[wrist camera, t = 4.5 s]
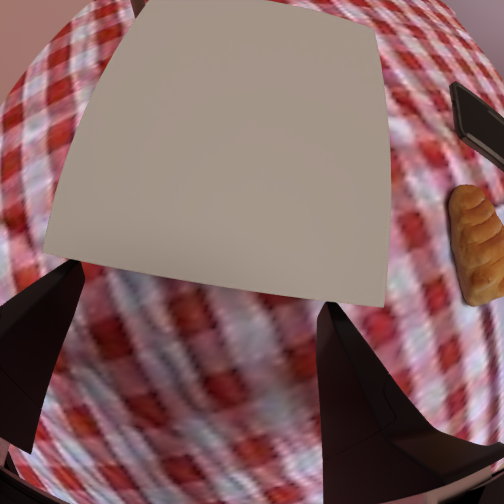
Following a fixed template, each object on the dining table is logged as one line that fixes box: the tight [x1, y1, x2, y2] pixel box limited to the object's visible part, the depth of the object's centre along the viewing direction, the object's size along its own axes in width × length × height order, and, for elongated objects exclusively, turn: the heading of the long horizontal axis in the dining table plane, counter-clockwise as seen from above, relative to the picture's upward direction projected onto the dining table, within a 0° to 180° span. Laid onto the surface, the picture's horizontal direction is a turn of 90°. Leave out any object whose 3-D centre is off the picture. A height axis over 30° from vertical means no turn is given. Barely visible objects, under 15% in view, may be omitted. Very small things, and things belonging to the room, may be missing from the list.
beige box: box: [42, 0, 391, 307], centre depth 14 cm, size 14×12×8 cm
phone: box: [449, 81, 504, 172], centre depth 20 cm, size 8×1×15 cm
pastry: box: [448, 184, 504, 307], centre depth 17 cm, size 9×7×4 cm
